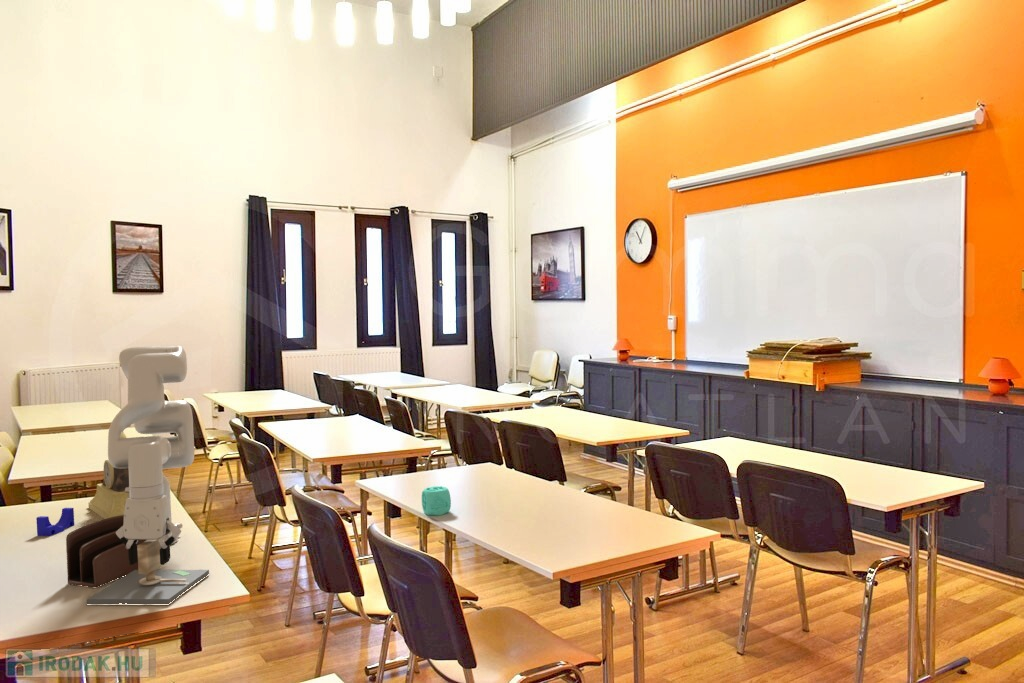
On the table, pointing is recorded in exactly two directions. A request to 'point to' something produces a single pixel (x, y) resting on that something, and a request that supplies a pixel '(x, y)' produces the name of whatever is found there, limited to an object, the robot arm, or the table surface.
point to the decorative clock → (111, 491)
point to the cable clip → (64, 522)
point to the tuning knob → (151, 563)
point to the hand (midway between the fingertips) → (149, 562)
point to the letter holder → (97, 553)
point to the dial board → (147, 588)
